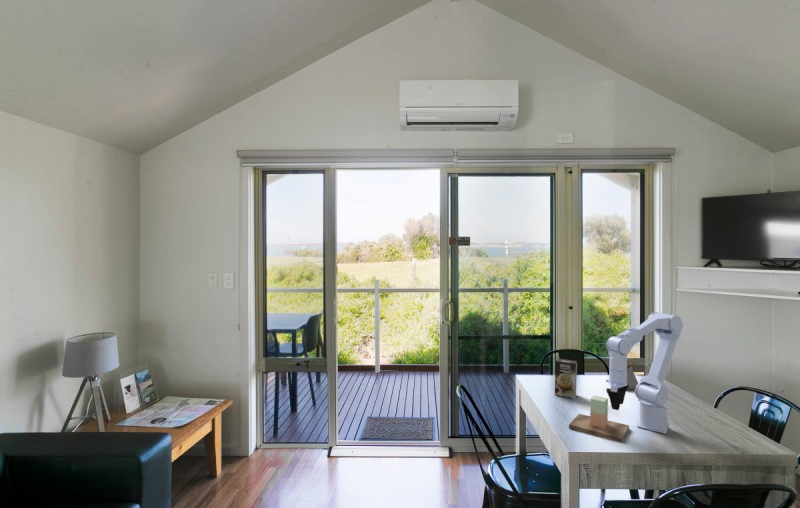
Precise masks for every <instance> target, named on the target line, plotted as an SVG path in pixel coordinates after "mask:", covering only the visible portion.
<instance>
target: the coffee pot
mask: <svg viewBox="0 0 800 508" xmlns="http://www.w3.org/2000/svg"><path fill="white" fill-rule="evenodd" d="M632 364H633V361H630V360H627V385H629V387H628V391H631V389H633V390H635V388H636V386H637V385H638V384H639V382H638V379H637V377H636V375H635V372H634V370H633V365H632Z"/></svg>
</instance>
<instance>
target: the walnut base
mask: <svg viewBox="0 0 800 508" xmlns="http://www.w3.org/2000/svg"><path fill="white" fill-rule="evenodd" d="M568 429H570V430H572V431H573V430H574V431H577V432H581V433H584V434H587V435H593V436H597V437H599V438H603V439H608V440H611V441H615V442H618V443H623V442H624V441H625V438H626V437H627V435H628V433H629V430H630V425H629V424H625V423H621V422H617V421H612V420H607V426H606V427H605V429H603V428H599V427H595V426H591V425H590V415H587V414H583V413H578V414H577V415H576V416H575V418H573V419H572V421H570V423H569V424H568Z"/></svg>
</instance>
